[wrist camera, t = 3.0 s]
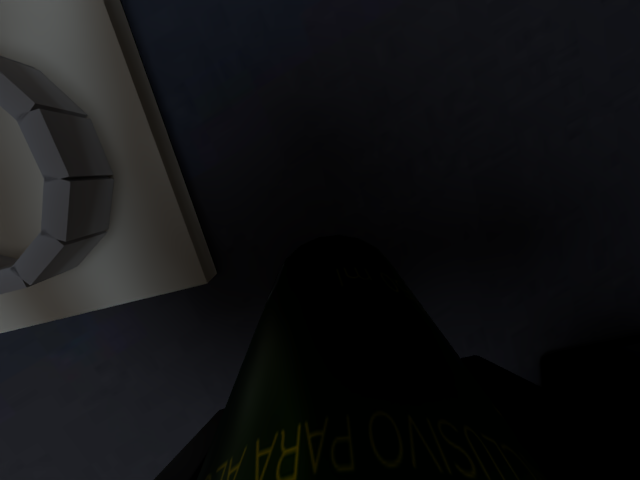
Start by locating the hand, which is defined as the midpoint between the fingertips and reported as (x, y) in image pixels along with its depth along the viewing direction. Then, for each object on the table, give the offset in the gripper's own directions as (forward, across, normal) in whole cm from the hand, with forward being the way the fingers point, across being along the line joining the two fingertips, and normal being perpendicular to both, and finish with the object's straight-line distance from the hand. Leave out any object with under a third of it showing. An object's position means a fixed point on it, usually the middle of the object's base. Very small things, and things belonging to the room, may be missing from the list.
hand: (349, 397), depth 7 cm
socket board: (+6, +11, -8) cm, 15 cm away
